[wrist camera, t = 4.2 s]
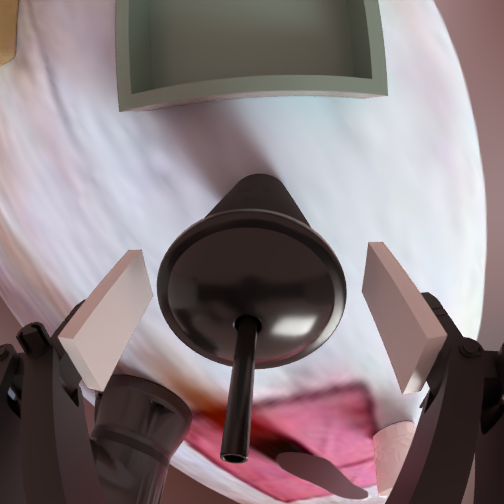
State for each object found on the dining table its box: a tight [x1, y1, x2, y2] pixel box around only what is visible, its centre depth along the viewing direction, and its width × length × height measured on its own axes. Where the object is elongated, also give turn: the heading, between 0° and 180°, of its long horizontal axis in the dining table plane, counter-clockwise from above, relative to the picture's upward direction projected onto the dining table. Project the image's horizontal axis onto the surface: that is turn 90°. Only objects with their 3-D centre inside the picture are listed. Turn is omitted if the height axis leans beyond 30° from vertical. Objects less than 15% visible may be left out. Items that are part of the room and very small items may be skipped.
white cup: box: [373, 421, 416, 497], centre depth 35 cm, size 10×10×12 cm
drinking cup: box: [157, 174, 347, 463], centre depth 15 cm, size 8×8×20 cm
